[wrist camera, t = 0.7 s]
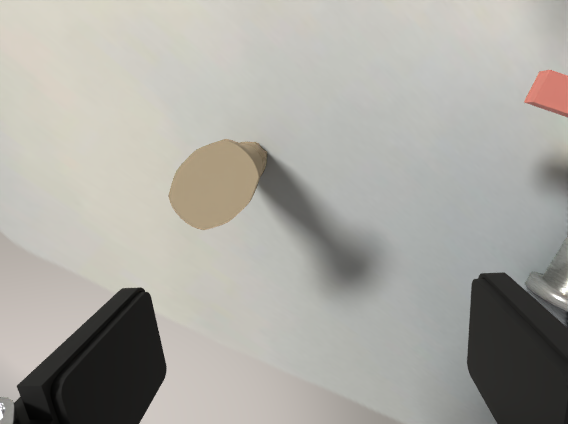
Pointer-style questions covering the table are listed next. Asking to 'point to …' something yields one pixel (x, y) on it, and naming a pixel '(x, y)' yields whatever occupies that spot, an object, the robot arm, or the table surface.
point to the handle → (217, 182)
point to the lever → (550, 92)
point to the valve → (553, 280)
